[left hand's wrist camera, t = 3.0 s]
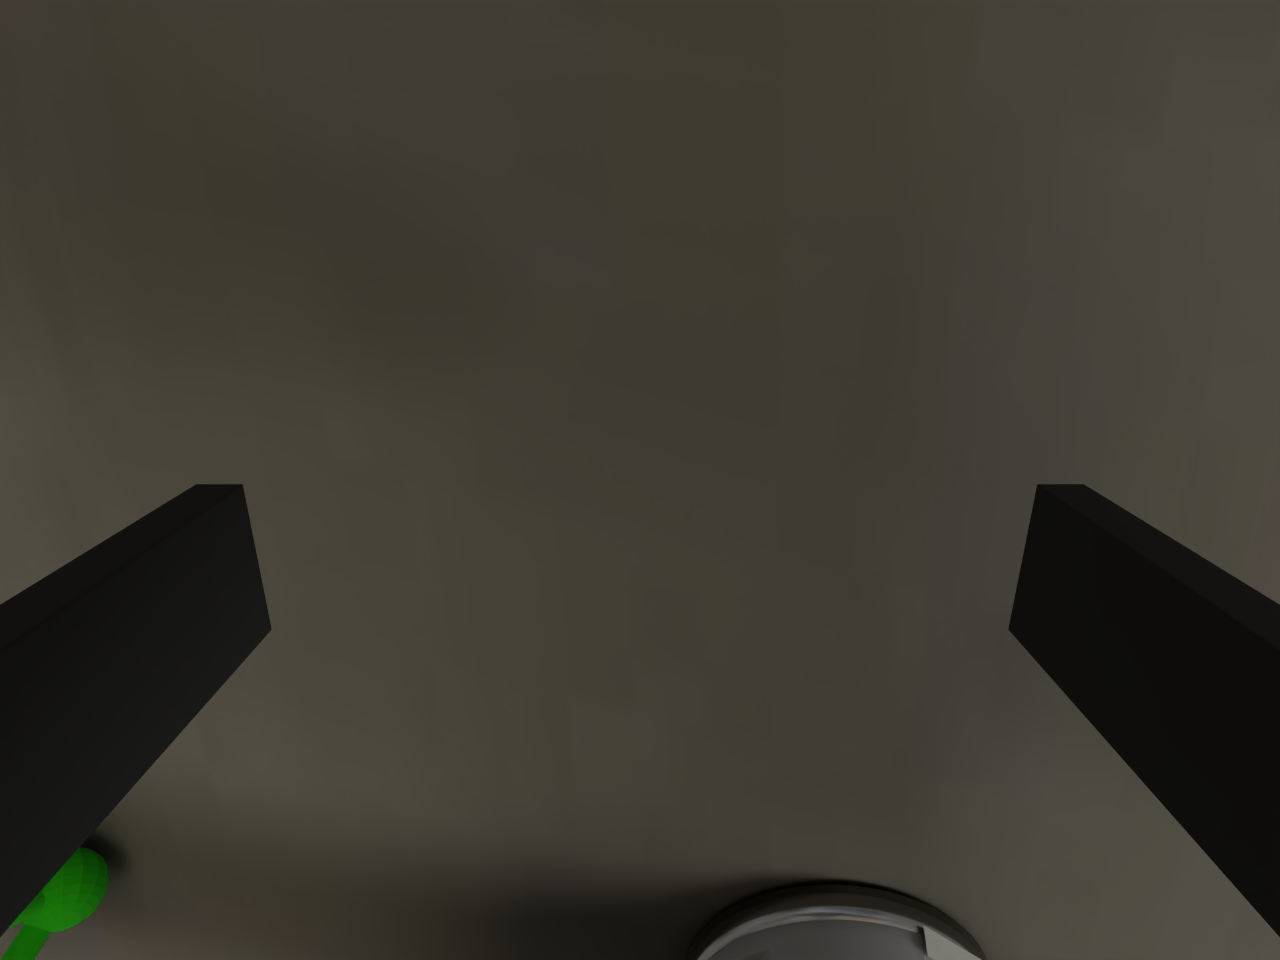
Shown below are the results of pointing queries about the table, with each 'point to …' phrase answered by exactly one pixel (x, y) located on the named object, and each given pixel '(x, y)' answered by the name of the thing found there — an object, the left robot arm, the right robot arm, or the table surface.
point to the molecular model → (61, 903)
